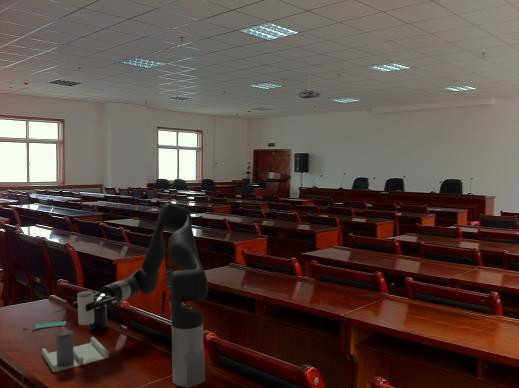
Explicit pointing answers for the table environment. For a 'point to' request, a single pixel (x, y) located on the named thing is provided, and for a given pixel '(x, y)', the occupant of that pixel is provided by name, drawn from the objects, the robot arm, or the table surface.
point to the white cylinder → (84, 315)
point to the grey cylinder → (64, 348)
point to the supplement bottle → (99, 319)
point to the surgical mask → (51, 324)
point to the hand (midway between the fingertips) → (80, 307)
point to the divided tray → (78, 355)
